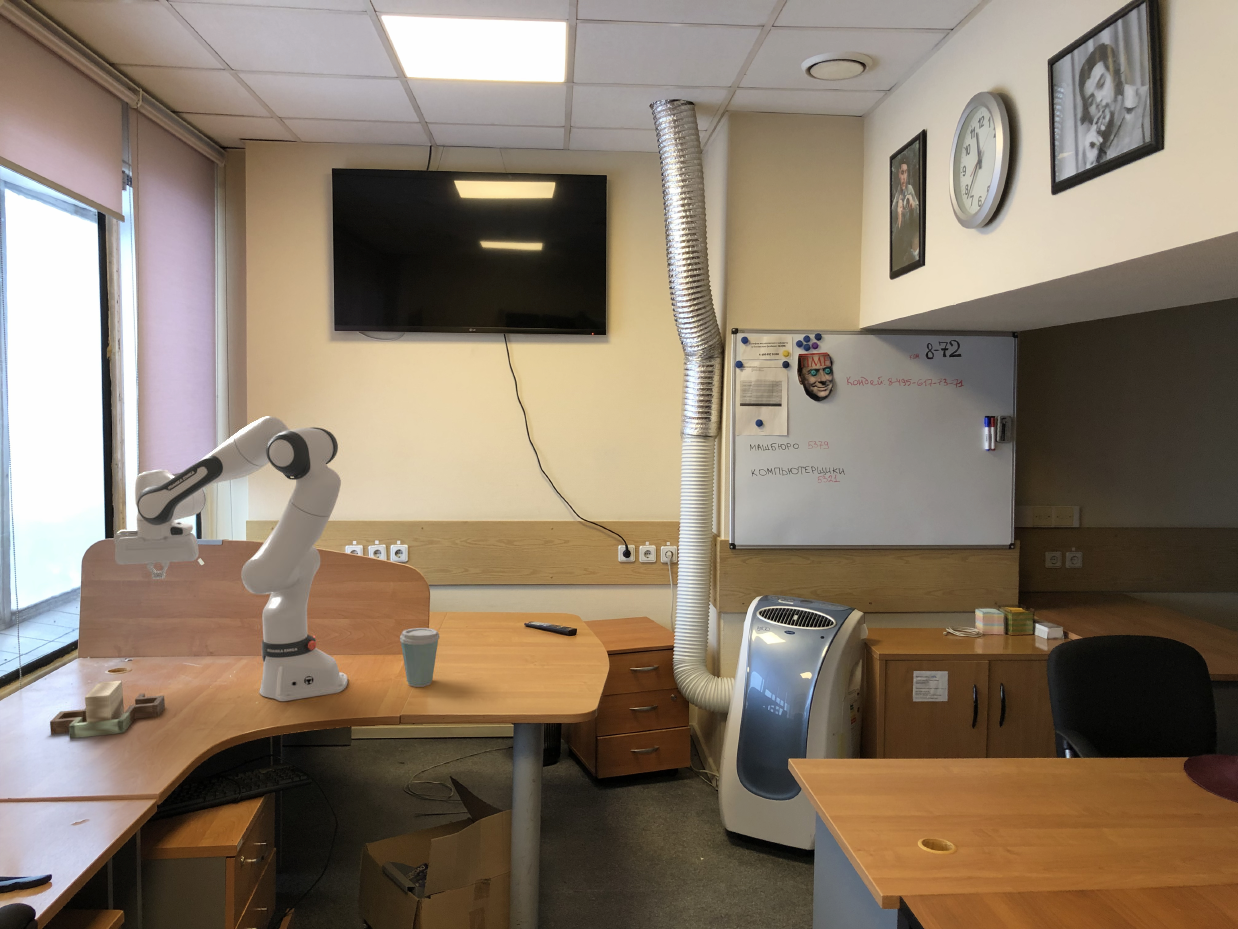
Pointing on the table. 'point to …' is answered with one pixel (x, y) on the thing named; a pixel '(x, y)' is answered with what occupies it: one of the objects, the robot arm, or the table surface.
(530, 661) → the table surface
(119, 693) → the beech block
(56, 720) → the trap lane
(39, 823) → the table surface
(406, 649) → the disposable coffee cup
